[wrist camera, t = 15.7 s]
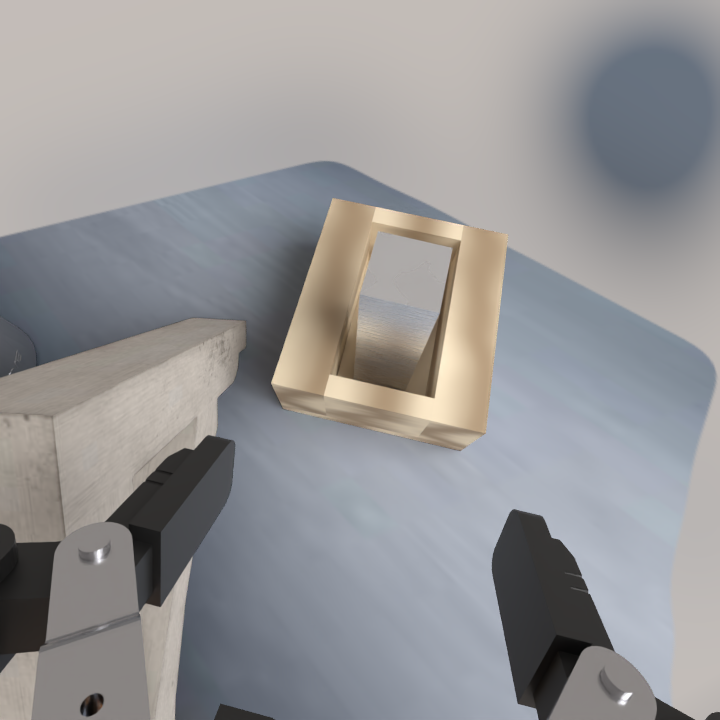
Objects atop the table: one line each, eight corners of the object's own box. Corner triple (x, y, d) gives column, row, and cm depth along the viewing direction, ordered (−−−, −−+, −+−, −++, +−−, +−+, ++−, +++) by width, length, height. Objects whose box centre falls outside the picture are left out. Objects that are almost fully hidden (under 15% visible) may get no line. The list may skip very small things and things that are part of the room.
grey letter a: (201, 625, 41) (192, 317, 34) (246, 626, 41) (246, 320, 34) (23, 1034, 19) (-98, 407, 12) (120, 1037, 19) (53, 416, 12)
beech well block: (283, 408, 32) (271, 383, 27) (334, 246, 39) (332, 197, 33) (460, 450, 32) (485, 433, 26) (483, 278, 38) (508, 234, 32)
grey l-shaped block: (353, 382, 32) (359, 294, 20) (381, 277, 36) (401, 151, 24) (403, 395, 32) (439, 312, 20) (426, 288, 36) (468, 165, 24)
